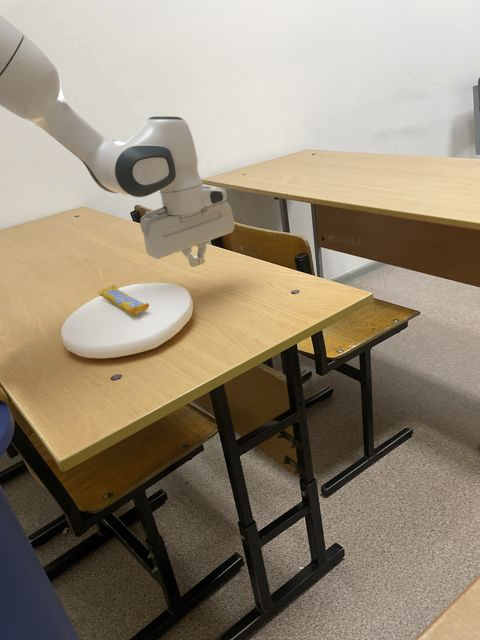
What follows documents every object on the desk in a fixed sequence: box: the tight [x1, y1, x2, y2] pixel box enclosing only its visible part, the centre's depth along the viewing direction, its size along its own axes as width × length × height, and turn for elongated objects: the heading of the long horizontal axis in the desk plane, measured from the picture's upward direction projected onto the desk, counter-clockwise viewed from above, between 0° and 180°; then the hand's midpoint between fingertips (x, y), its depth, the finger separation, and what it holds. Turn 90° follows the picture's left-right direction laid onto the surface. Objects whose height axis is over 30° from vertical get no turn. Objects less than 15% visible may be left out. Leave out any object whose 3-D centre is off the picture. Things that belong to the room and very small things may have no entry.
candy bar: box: [96, 285, 149, 315], centre depth 106 cm, size 17×4×2 cm, turn 39°
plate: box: [60, 282, 194, 359], centre depth 108 cm, size 28×6×27 cm
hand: (197, 264), depth 114 cm, fingers closed
